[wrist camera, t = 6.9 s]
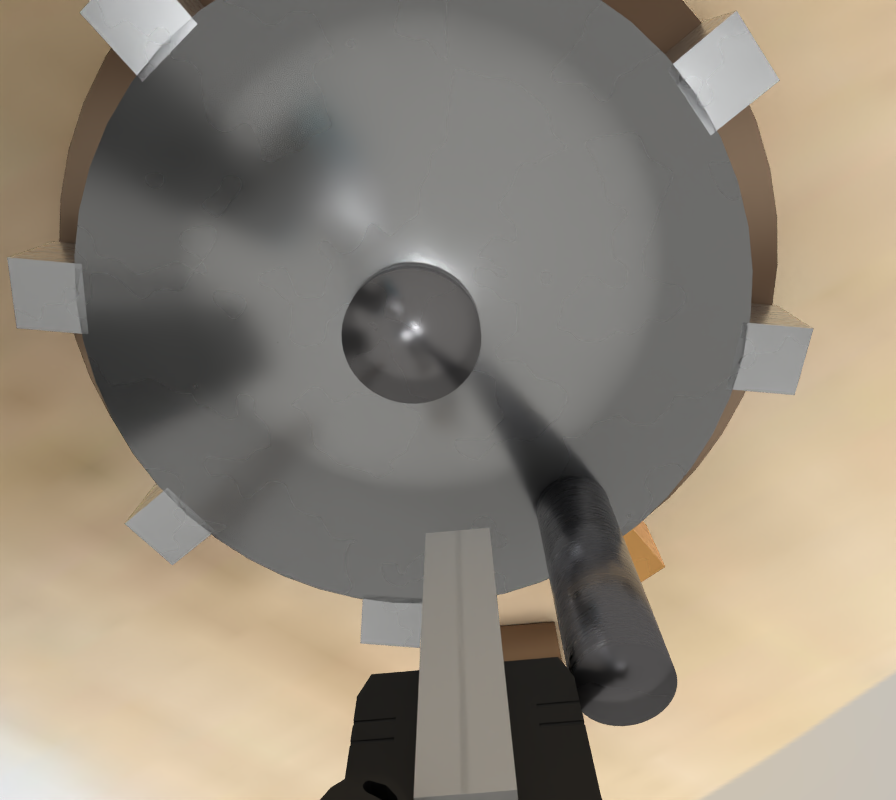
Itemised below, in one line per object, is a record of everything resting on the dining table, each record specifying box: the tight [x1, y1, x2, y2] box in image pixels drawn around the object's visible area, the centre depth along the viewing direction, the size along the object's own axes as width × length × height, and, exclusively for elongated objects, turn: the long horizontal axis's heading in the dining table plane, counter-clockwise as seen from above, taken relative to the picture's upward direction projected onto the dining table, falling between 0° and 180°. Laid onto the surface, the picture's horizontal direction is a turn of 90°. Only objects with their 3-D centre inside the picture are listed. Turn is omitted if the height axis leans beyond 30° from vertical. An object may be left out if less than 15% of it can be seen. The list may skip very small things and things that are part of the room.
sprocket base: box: [59, 0, 777, 513], centre depth 19 cm, size 18×18×1 cm
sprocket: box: [7, 0, 813, 726], centre depth 15 cm, size 18×18×8 cm
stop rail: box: [500, 622, 562, 661], centre depth 23 cm, size 6×2×3 cm, turn 6°
